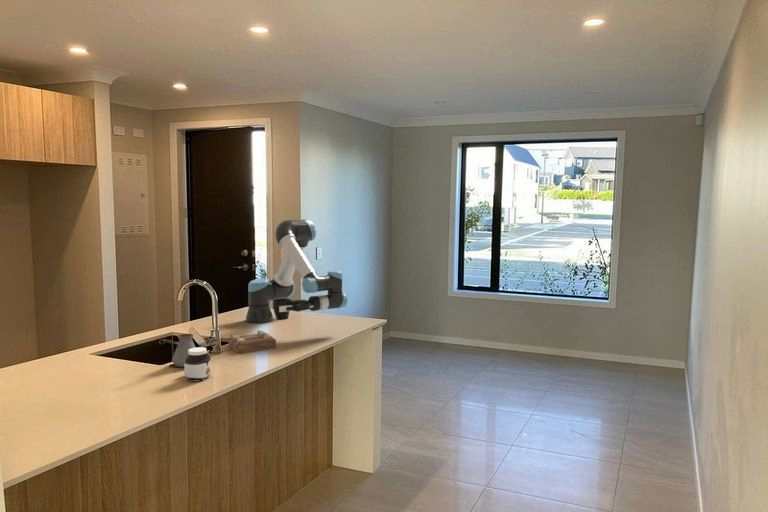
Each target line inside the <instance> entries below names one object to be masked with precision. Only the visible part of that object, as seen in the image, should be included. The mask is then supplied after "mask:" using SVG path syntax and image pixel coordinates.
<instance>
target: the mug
mask: <svg viewBox="0 0 768 512" xmlns="http://www.w3.org/2000/svg"><path fill="white" fill-rule="evenodd" d="M291 300H292V299H291V298H286V299H275V300H272V303H273V313H274V317H275V319H276V320H277V321H285V320H288V319H289V315H290V311H286V312H279V306H287V305H291Z"/></svg>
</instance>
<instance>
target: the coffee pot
mask: <svg viewBox="0 0 768 512" xmlns="http://www.w3.org/2000/svg"><path fill="white" fill-rule="evenodd" d="M194 336H195V335H194V334H193V333H181V334H178V335H177V338H178V341H174V340H171V339H167V338H162V339H159V345H160V344H161V345H163V344H165V343H167V344H173V345H177V346H176V348H175V351H174V353H173V356H172V359H171V362H172V364H174V365H175V366H176V367H177V366H179V367H184V363H185V359H186V358H187V356H188V355H189V354H188V350H189V349H191V348H197V347H196V345H195V343H194V341H193V337H194ZM161 341H162V342H163V343H161ZM179 367H178V368H179Z"/></svg>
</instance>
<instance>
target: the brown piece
mask: <svg viewBox="0 0 768 512" xmlns="http://www.w3.org/2000/svg"><path fill="white" fill-rule="evenodd" d="M227 341H228V347H229V348H230V347H231V348H230V349H232V350H233V351H234V350H235V351H234V352H236V353H237V354H244V353H250V352H257V351H258V352H259V351H264V349H265V350H270V348H272V349H277V339H275V338H274V337H273V336H272V335H270V334H269V333H267V332H266V331H263V330H257V332H256V333H255V334H248V335H238V334H236V333H231V334H230V337H228V338H227Z"/></svg>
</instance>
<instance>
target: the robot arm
mask: <svg viewBox="0 0 768 512" xmlns="http://www.w3.org/2000/svg"><path fill="white" fill-rule="evenodd" d="M274 234H275V235H274V236H275V241H276V242H277V244H278V247H280V248H281V249H283V250H284V254H283V258H282V260H281V264H280V266H279V269H278V271H277V273H275V274H274V275H273V276H272V277H273V278H272V279H271V280H269V278H266V277H265V278H256V279H253V280H250V281H249V283H248V289H247V292H248V293H247V294H248V309H247V311H246V316H245V322H246V323H251V324H264V323H269V322H270V323H271V322H272V321H273V320H274V316H273V312H272V309H273V300H275V299H290V298H291V297H292V296H293V295H294V293H295V283H294V279H293V276H294V273H295V271H297V272H298V275H299V276H300V278H301V279H302V281H301V287H302V290H303V291H304V293H307V294H311V293H313V294H314V293H318V292H325V291H327V294H319V295H311V296H310V297H308V299H291V305H287V306H279V312H286V311H289V312H302V311H307V310H310V311H312V312H317V311H324V312H325V310H326V311H327V310H332V309H334V310H335V309H342V308H345V307H346V306H347V304H348V297H347V294H346V293H344V292H343V280H344V279H343V273H342V271H341V270H328V271H327V275H321V276H319V275H318V273H317V272H316V271H315V270H316V269H314V267H313V266H312V264H311V263H310V261H309V259H308V258H307V256H306V255H305V253H304V251H303V250H304V248H307V247H308V245H309V242H310V241H313V240H315V238H316V236H317V229H316V226H315V223H314V222H313V221H312V220H311V219H306V218H305V219H304V218H303V219H290V220H289V219H286V220H284V221H281V222H280V223H279V224H278V225H277V227H276V229H275V233H274ZM271 301H272V303H271V306H270V302H271Z"/></svg>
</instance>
